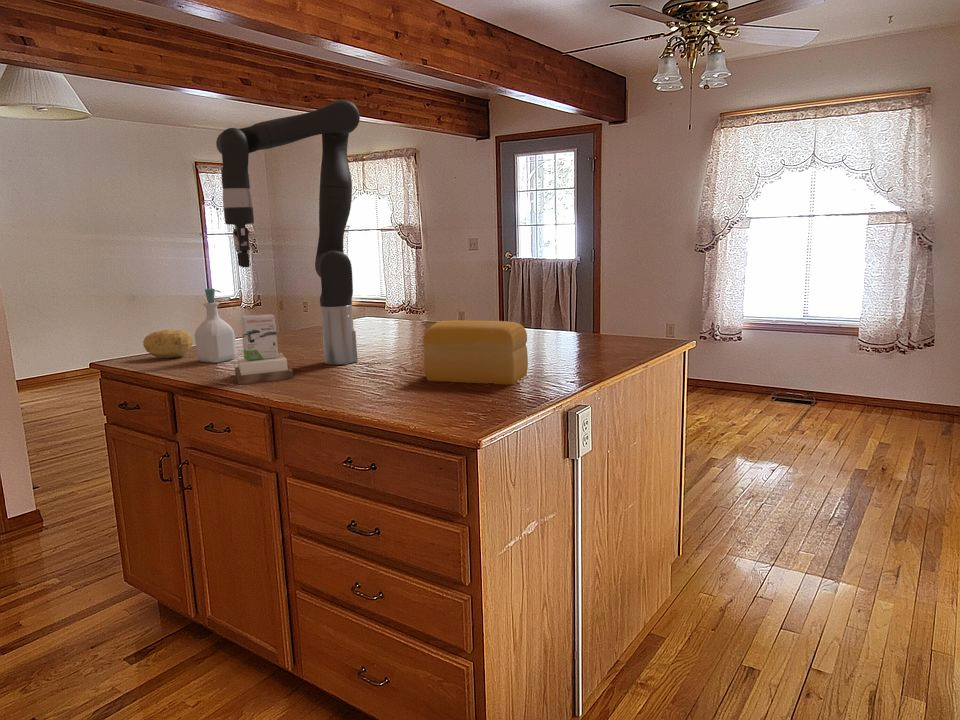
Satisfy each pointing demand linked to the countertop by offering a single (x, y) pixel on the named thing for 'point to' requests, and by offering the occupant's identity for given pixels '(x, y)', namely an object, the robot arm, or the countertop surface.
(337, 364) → the robot arm
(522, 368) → the bread
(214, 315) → the soap bottle
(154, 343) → the potato
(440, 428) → the countertop surface
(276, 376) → the walnut slab
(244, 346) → the ink box
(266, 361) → the cream slab
